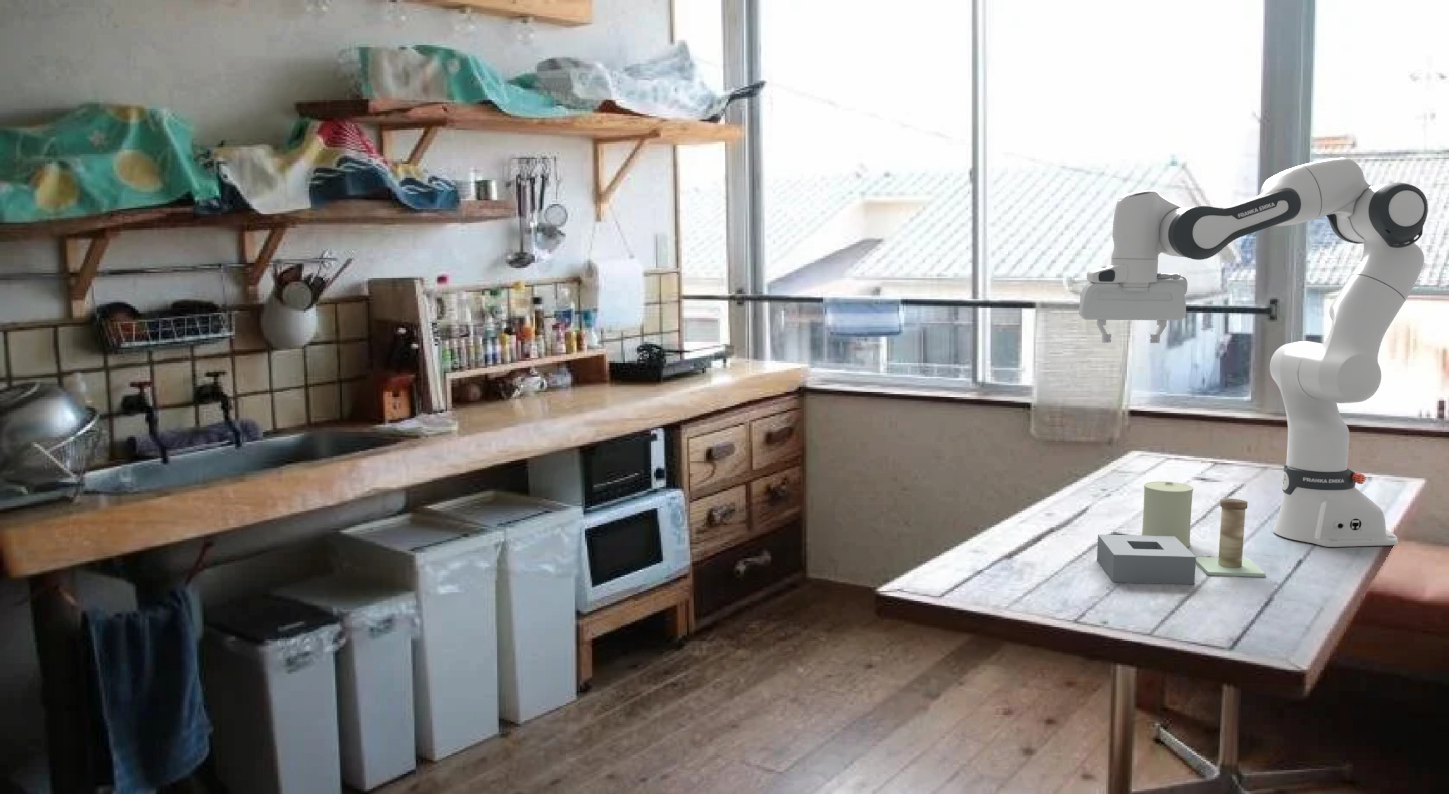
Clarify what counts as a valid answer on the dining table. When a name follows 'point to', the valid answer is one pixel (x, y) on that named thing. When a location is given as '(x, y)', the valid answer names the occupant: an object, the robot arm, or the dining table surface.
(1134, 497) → the dining table surface
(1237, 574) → the mat
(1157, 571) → the socket
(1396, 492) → the dining table surface
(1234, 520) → the plug
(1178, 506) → the can
